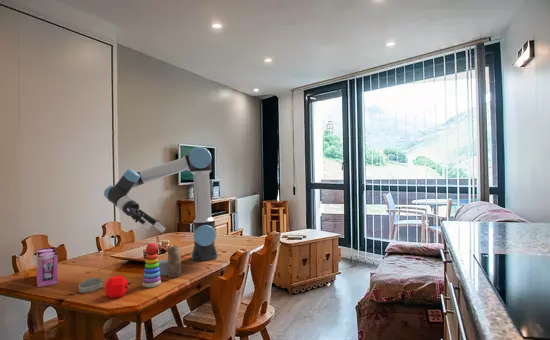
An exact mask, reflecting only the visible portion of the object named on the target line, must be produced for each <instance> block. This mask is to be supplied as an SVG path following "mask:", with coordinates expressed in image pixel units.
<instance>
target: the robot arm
mask: <svg viewBox="0 0 550 340" xmlns="http://www.w3.org/2000/svg"><path fill="white" fill-rule="evenodd" d="M212 158H213V157H212V154H211V152H210V151H209V149H208V148H206V147H203V146H199V147H195V148H193V149H191V151H190V152H189V153H188V154H185V155H183V156H182V157H181V158H178V159H175V160H171V161H168V162H164V163H163V164H159V165H155V166H152V167H149V168H146V169H143V170H139V171H135V170H133V169H130V168H128V169H126V171H125V172H124V173H123V175H122V176H121V177H120V178H119V180H118V182H116V184H114V185H108V187H106V188H105V189H104V192H103V196H104V197H105V198H106V199H107V200H108V202H110V203H112V204H113V205H114V206H116V208H118V210H119V211H122V212H123V213H124V214H125V215H126V216H129V217H131V218H132V219H133V221H134V222H135V223H139V224H140V225H141V226H142V227H144V228H145V229H147V230H149V229H150V228H151V227H152V225H153V227H154V228H155V229H157V231H159V232H160V233H161V234H162V233H164V232H165V231H166V229H167V228H166V227H164V225H162V224H161V223H159V219H155V218H154V217H152V216H151V215H149V214H147V213H146V212H145V211H143V210H142V209H140V204H139V203H137V202H136V201H135V200H134V199H133V198H131V197H130V196H129V195H128V194H129V193H130V191H131V190H132V189H133V188H136V187H139V186H141V185H144V184H147V183H151V182H154V181H157V180H160V179H163V178H166V177H169V176H172V175H175V174H179V173H181V172H185V171H189V172H190V174H192V175H193V192H194V207H195V209H194V210H195V219H194V220H193V221H192V222H193V243H194V244H193V249H192V252H191V256H190V257H191V258H190V259H191V261H197V262H201V261H204V262H205V261H211V260H215V259H217V258H218V251H217V248H216V246H215V240H216V237H217V232H216V224H215V223H216V222H215V221H216V220H215V218H214V217H212V201H211V200H212V199H211V185H210V184H211V183H210V174H211V172H212Z"/></svg>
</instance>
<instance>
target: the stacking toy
mask: <svg viewBox="0 0 550 340" xmlns="http://www.w3.org/2000/svg"><path fill="white" fill-rule="evenodd" d="M158 250H159V245H158V244H156V243H154V242H151V243H148V244H147V245H146V248H145V251H146V253H147V254H146V255H145V258H146V259H145V261H144V262H145V264H144V269H143V270H144V272H143V277H142V283H141V285H142V287H143V288H156V287H159V286H160V285H161V284H162V281H161V275H160V271H159V267H158V266H159V263H158V261H159V259H158V257H159V254H158ZM159 275H160V276H159Z"/></svg>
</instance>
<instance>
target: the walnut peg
mask: <svg viewBox="0 0 550 340" xmlns="http://www.w3.org/2000/svg"><path fill="white" fill-rule="evenodd" d="M181 249H182V247H181V246H179V245H174V246H168V247H167V260H168V275H167V277H168V278H169V279H177V278H180V277H182V256H181V255H182V253H181Z"/></svg>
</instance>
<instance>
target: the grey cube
mask: <svg viewBox="0 0 550 340" xmlns="http://www.w3.org/2000/svg"><path fill="white" fill-rule="evenodd" d="M158 263H159V266H158V267H159V271H160V275H159V276H160V277H161V276H168V259H164V260H163V259H162V260H158Z"/></svg>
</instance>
